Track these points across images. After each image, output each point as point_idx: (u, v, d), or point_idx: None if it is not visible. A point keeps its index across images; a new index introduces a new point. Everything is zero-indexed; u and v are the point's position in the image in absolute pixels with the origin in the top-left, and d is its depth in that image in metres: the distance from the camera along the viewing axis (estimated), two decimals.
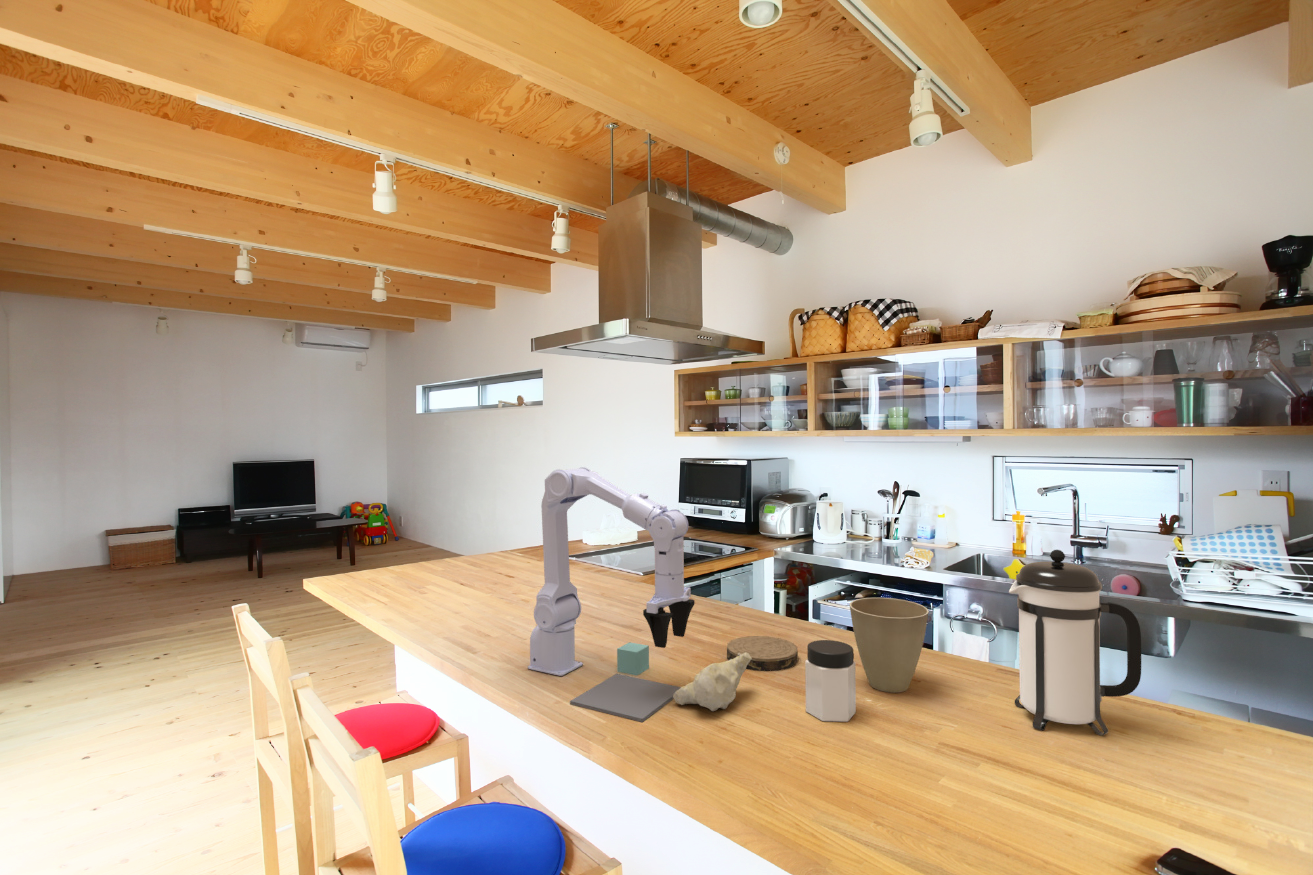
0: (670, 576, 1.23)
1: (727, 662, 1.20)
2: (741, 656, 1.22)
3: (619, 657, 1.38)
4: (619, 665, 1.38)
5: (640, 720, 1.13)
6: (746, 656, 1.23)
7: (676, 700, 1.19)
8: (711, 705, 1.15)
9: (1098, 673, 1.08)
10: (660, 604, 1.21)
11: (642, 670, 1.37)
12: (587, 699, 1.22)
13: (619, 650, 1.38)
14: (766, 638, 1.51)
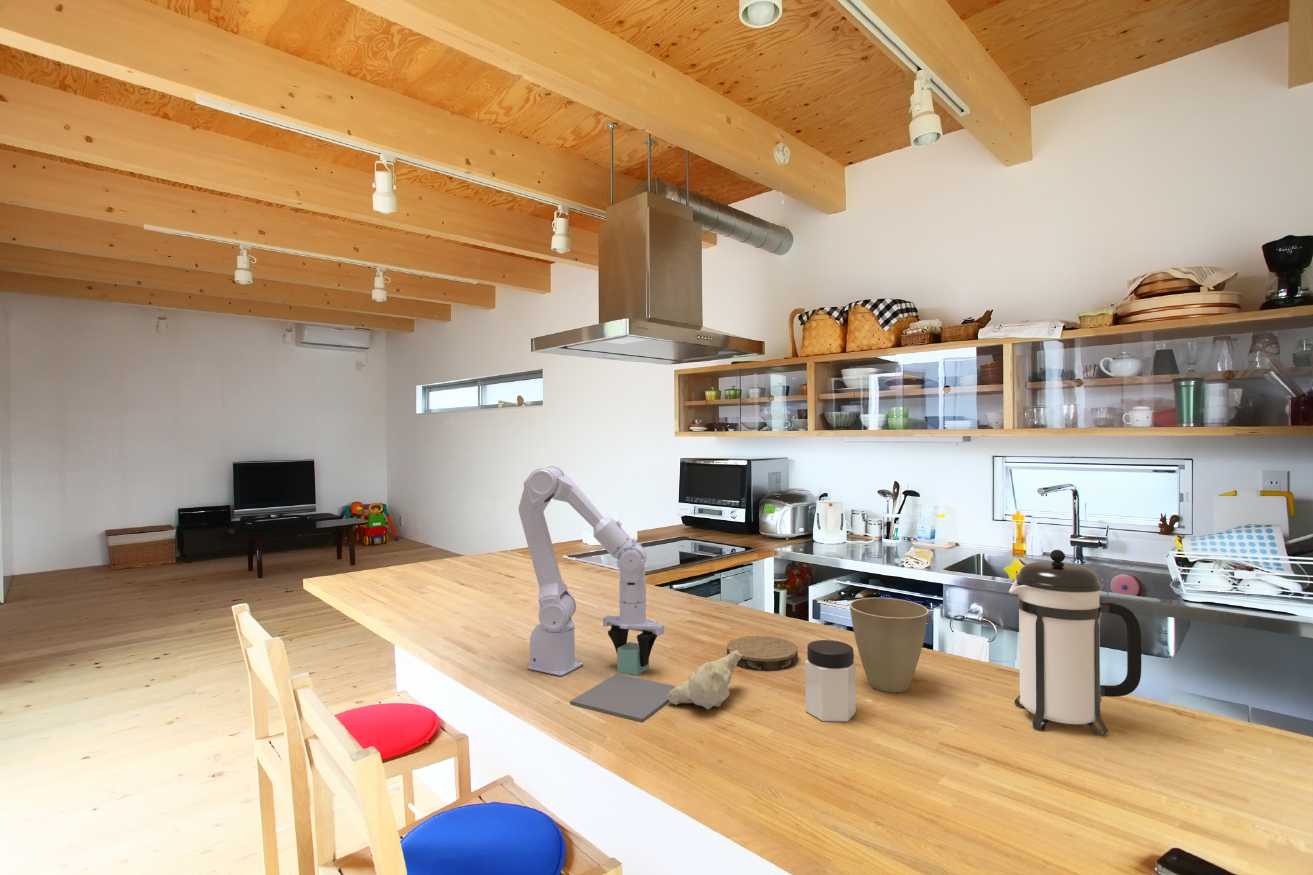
0: None
1: (720, 661, 1.21)
2: (733, 654, 1.23)
3: (619, 657, 1.38)
4: (619, 665, 1.38)
5: (640, 720, 1.13)
6: (737, 654, 1.25)
7: (670, 700, 1.20)
8: (706, 703, 1.16)
9: (1098, 673, 1.08)
10: (608, 620, 1.41)
11: (642, 670, 1.37)
12: (587, 699, 1.22)
13: (619, 650, 1.37)
14: (766, 638, 1.51)
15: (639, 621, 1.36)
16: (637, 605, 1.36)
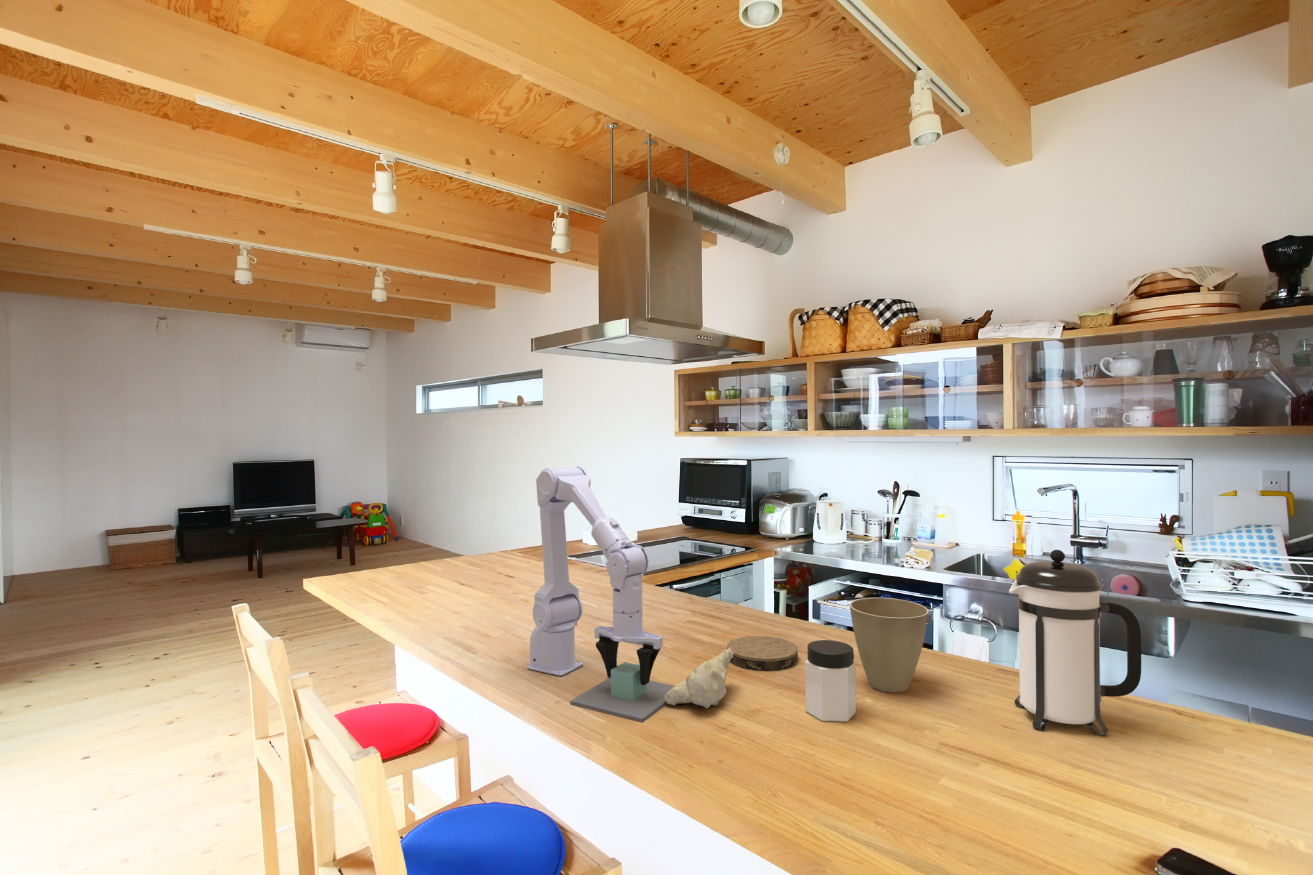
0: (613, 611, 1.24)
1: (715, 659, 1.22)
2: (727, 652, 1.24)
3: (613, 679, 1.23)
4: (613, 688, 1.23)
5: (640, 720, 1.13)
6: (730, 652, 1.26)
7: (668, 701, 1.19)
8: (707, 702, 1.16)
9: (1098, 673, 1.08)
10: (600, 632, 1.26)
11: (639, 694, 1.23)
12: (587, 699, 1.22)
13: (613, 671, 1.23)
14: (766, 638, 1.51)
15: (635, 633, 1.22)
16: (632, 615, 1.21)
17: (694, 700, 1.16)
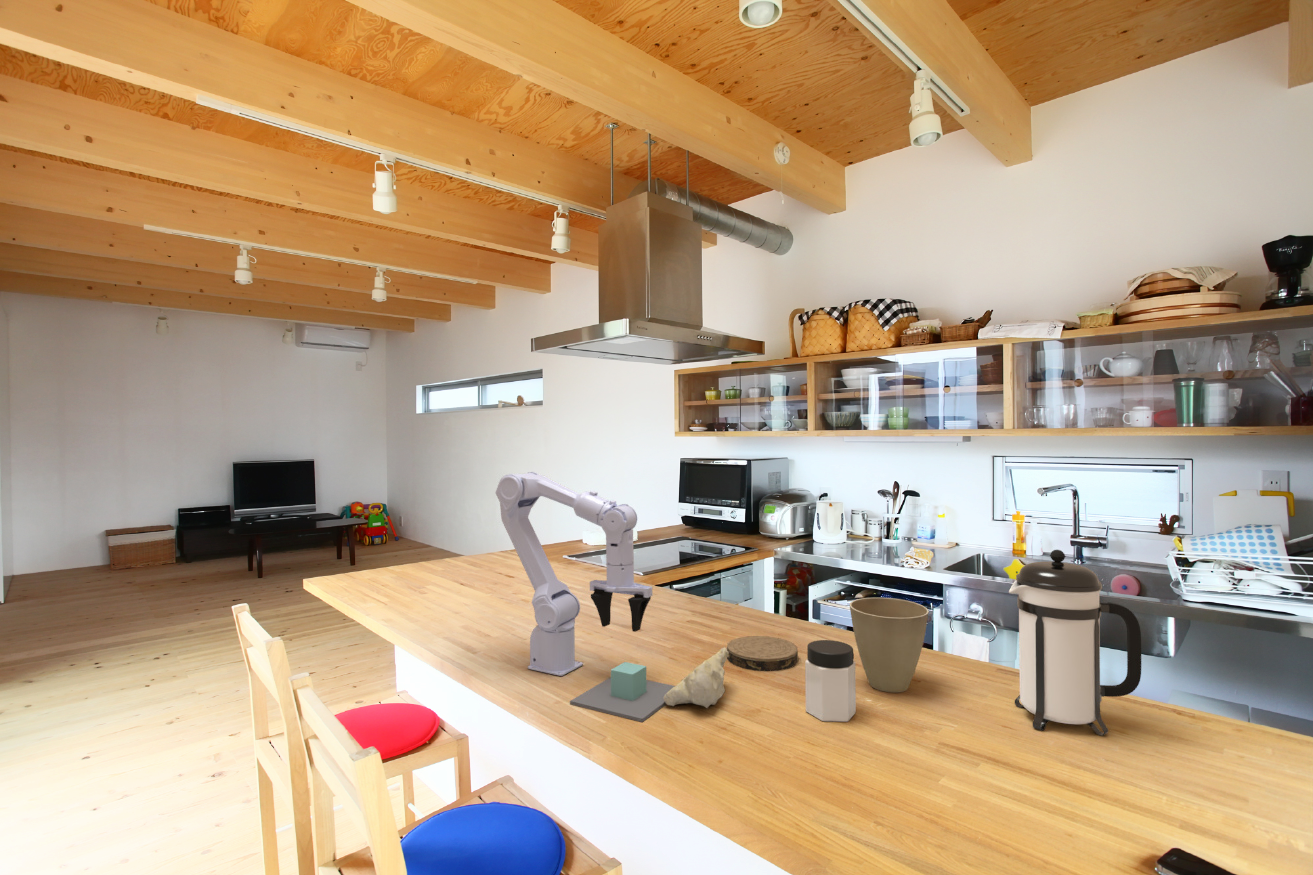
0: (606, 564, 1.34)
1: (713, 659, 1.23)
2: (724, 651, 1.25)
3: (613, 679, 1.23)
4: (613, 688, 1.23)
5: (640, 720, 1.13)
6: (726, 651, 1.26)
7: (667, 702, 1.19)
8: (707, 702, 1.16)
9: (1098, 673, 1.08)
10: (594, 584, 1.36)
11: (639, 694, 1.23)
12: (587, 699, 1.22)
13: (613, 671, 1.23)
14: (766, 638, 1.51)
15: (626, 584, 1.32)
16: (624, 567, 1.32)
17: (695, 700, 1.16)
